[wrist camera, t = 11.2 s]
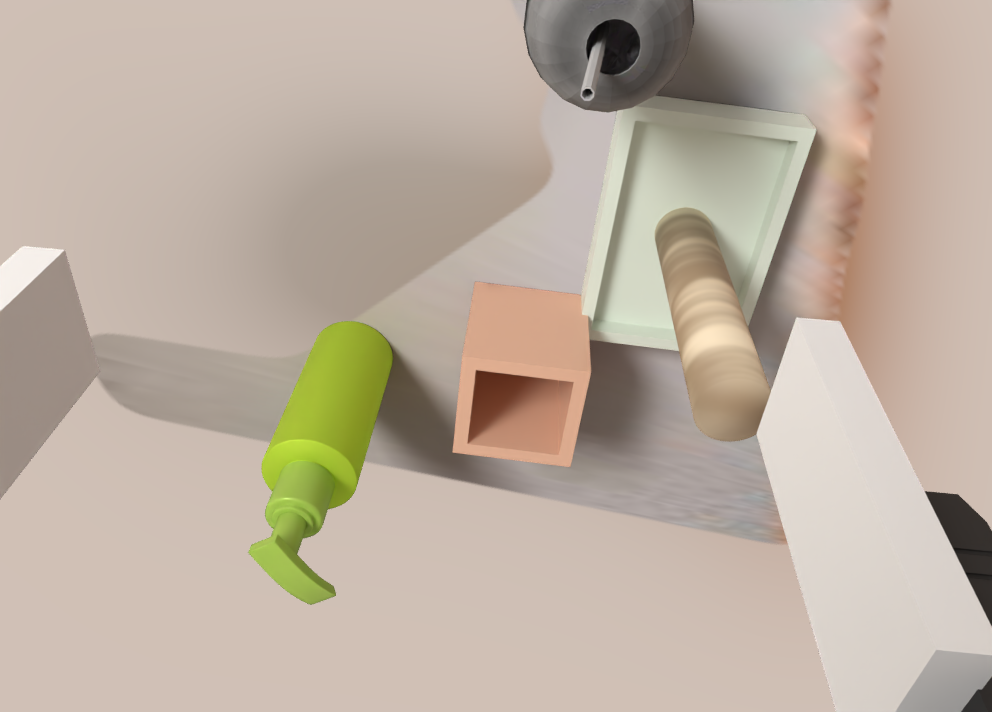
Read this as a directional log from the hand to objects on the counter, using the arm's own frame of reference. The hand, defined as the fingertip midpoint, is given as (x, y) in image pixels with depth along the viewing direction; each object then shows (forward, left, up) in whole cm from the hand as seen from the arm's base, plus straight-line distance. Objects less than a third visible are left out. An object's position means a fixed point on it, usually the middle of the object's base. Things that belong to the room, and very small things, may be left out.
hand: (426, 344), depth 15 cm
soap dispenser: (+27, -9, -36) cm, 46 cm away
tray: (+13, +12, -36) cm, 40 cm away
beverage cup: (-1, +4, -36) cm, 36 cm away
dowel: (+13, +12, -35) cm, 39 cm away
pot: (+23, +3, -36) cm, 43 cm away
